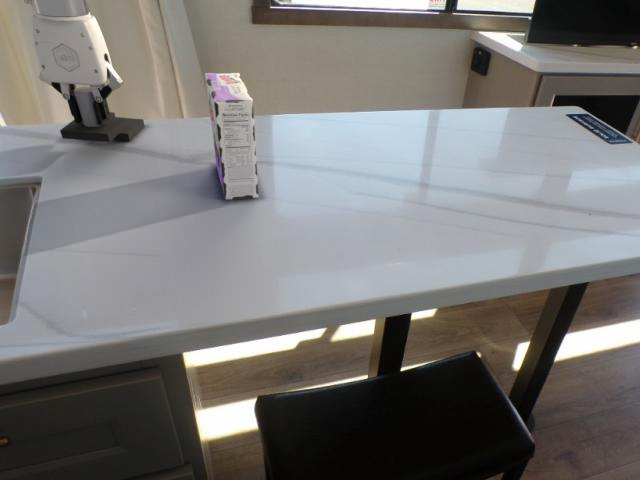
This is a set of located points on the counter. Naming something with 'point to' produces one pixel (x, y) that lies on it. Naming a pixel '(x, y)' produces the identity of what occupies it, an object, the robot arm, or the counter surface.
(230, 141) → the candy box
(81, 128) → the pad
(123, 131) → the notch pad
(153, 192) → the counter surface
